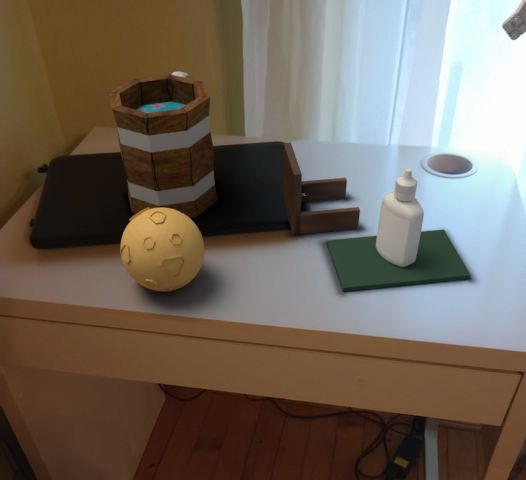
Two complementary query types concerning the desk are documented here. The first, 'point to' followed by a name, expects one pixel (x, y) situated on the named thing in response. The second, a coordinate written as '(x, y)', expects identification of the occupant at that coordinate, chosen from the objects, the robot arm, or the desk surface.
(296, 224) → the holder
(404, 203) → the eye dropper bottle
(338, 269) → the mat
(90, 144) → the desk surface
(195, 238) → the stress ball
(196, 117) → the mug
